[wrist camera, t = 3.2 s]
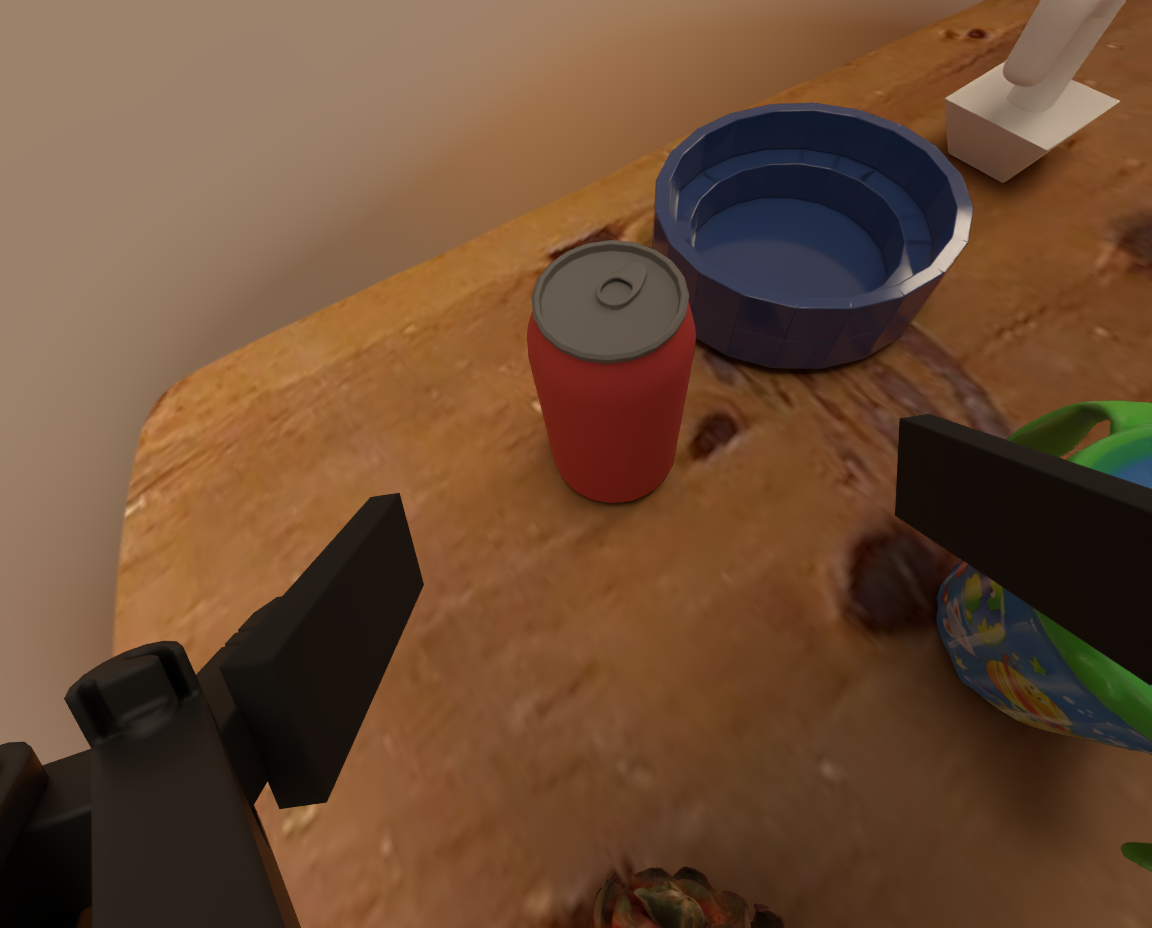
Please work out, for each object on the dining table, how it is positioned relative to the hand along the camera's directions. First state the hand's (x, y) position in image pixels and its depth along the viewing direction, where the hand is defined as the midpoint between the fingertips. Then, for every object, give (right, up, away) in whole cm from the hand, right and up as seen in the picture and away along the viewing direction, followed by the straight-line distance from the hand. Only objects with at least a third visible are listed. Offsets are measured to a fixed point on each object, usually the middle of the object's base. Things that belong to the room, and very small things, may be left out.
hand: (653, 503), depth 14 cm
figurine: (+27, +23, +24) cm, 43 cm away
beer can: (0, +2, +16) cm, 16 cm away
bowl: (+11, +14, +20) cm, 27 cm away
